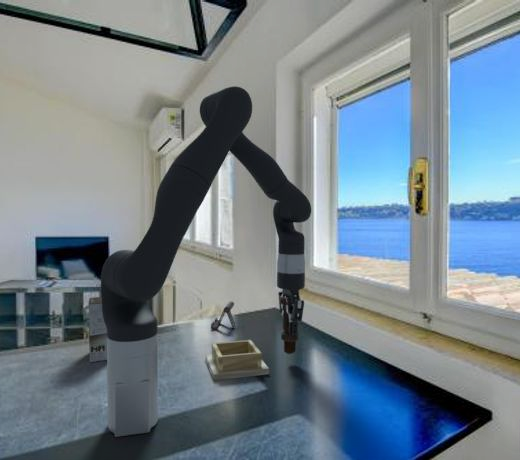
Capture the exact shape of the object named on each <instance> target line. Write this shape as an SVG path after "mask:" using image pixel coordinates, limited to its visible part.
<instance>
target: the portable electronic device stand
mask: <svg viewBox="0 0 520 460" xmlns="http://www.w3.org/2000/svg"><path fill="white" fill-rule="evenodd" d="M234 307H235V302H234V301H229V302H228V303H227V304H226V306H225V307H224V308H223V311H222V313H221V315H220V317H219V318H218V317H215V319H214V321H213V322H211V325H210V329H211V330H212V331H216V330H217V329H218V327H219V326H220V324H221V323H222V321H223V318H224V317H225V314H226V315H227V317H228V320H229V322H230V324H231V327H232V329H233V328H234V327H235V324H236V325H237V323H236V321H235V319H234V316H233V314H232V312H231V310H232V309H233V308H234Z"/></svg>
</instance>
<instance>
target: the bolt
mask: <svg viewBox="0 0 520 460" xmlns="http://www.w3.org/2000/svg"><path fill="white" fill-rule="evenodd" d="M300 300H301V297H300ZM287 302H288V305H290V299H288V300H287ZM287 302H286V299H285V297H281V302H280V304H284V309H285V313H284V315H285V318H284V321H285V323H284V327H285V328H284V330H283V331H282V332H281V334H280V335H281V337H280V339H281V340H282V341H283V351H284V353H285V354H287V355H291V354H294V353H295V352H296V350H297V349H296V347H297V346H296V345H297V344H296V343H297V341H298V340H299V332H298V335H297V336H290V335H289V314H288V313H287V310H286V305H287ZM290 310H293V309H290ZM295 317H296V315H295Z"/></svg>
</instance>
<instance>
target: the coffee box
mask: <svg viewBox="0 0 520 460" xmlns="http://www.w3.org/2000/svg"><path fill="white" fill-rule="evenodd" d="M88 344H89V345H88V347H89V348H88V350H89V363H95V362H100V361H107V328H106V325H105V323H104V320H103V314H102V297H101V296H97V297H96V296H95V297H89V300H88Z"/></svg>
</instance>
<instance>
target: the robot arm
mask: <svg viewBox="0 0 520 460" xmlns="http://www.w3.org/2000/svg"><path fill="white" fill-rule="evenodd" d="M252 114H253V102H252V98H251V95H250V93H249V92H248V91H247V90H246V89H245V88H242V87H241V86H237V85H234V86H233V85H232V86H227V87H223V88H222V89H219V90H217V91H215V92H213V93H209V94H208V95H206V96H205V97H204V98H203V99H202V100H201V102H200V105H199V115H200V118H201V121H202V122H203V124H204V126H205V127H204V129H203V130H202V131H201V132H200V134H198V136H197V137H195V139H193V140H192V141H191V143H189V144H188V145H187V146H186V147H185V148H184V149H183V150H182V151H181V153H179V154H178V156H177V157H176V158H175V159H174V160H173V162H172V163H171V164H170V166H169V168H168V170H167V171H166V173H165V174H164V176H163V178H162V179H161V181H160V183H159V185H158V189H157V192H156V196H155V203H154V213H153V218H152V220H151V223H150V226H149V228H148V230H147V231H146V233H145V235H144V236H143V237H142V239H141V241H140V243H139V244H138V246H137V247H136V248H135V250H132V249H122V250H121V249H120V250H116V251H115V252H113V253H111V255H110V256H108V257H107V258H106V260H105V262H104V263H103V265H102V269H101V273H100V292H101V293H100V294H101V296H100V297H102V314H103V320H104V323H105V325H106V328H107V360H106V365H107V366H106V367H107V368H106V372H107V373H106V374H107V376H106V377H107V379H106V380H107V381H106V383H107V428H108V431H109V432H111V433H113V434H114V438H118V437H124V436H131V435H138V434H146V433H150V432H151V429H152V428H153V427H154V426H156V424H157V423H158V422H159V376H158V375H159V373H158V371H159V367H158V366H159V365H158V364H159V363H158V362H159V361H158V360H159V359H158V357H159V354H158V353H159V351H158V347H159V345H158V344H159V340H158V335H159V333H158V332H159V331H158V328H159V326H158V320H157V317H156V316H155V314H154V313H153V312H152V310H151V309H150V306H149V304H148V302H149V301H150V300H151V299H153V298H154V297H155V296H156V295H158V293H159V292H160V291H161V289H162V287H163V286H164V284H165V282H166V279H167V277H168V275H169V272H170V271H171V268H172V265H173V264H174V260H175V258H176V254H178V253H177V252H178V250H179V248H180V246H181V243H182V241H183V240H184V237H185V235H186V233H187V231H188V230H189V228H190V226H191V224H192V222H193V220H194V218H195V216H196V214H197V212H198V210H199V208H200V207H201V205H202V204H203V202H204V200H205V198H206V196H207V194H208V192H209V190H210V189H211V187H212V184H213V182H214V180H215V178H216V177H217V174H218V173H219V171H220V170H221V167H222V165H223V164H224V162H225V160H226V158H227V156H228V154H229V152H230V153H231V154H232V155H233V156H234V157H235V158H236V159H237V160H238V161H239V162H240V164H242V166H243V167H244V168H245V169H246V170H247V172H248V173H249V174H250V175H251V177H252V178H253V180H255V182H256V183H257V185H258V186H259V187H260V189H261V190H262V192H263V193H264V194H265V197H267V198H268V199H270V200H273V201H275V202H274V205H273V211H272V216H273V222H274V225H275V230H276V233H277V239H278V246H277V247H278V249H277V250H278V251H277V253H278V254H277V263H276V287H277V288H278V289H281V291H279V292H278V304H279V305H278V306H279V314H281V317H282V330H283V331H284V328H285V327H284V323H285V321H284V318H285V315H284V313H285V309H284V304H280V302H281V297H285V299H286V302H287V300H288V299H290V305H288V302H287V305H286V310H287V313H288V314H289V335H290V336H297V335H298V333H299V332H298V331H299V322H302V320H303V315H304V314H303V313H304V308H305V306H304V305H305V301H304V300H303V299H302V300H300V298H301V297H300V290H303V289H304V288H305V287H306V286H305V285H306V258H305V235H304V233H302V232H301V231H298V230H296V227H295V225H294V223H304V222H306V221H308V220H309V218H310V217H311V215H312V204H311V203H310V200H309V199H308V197H307V195H306V194H304V192H302V191H301V190H300V189H299V188H298V187H297V186H296V185H295V184H294V183H292V182H291V180H289V179H288V177H287V175H286V174H285V173H284V171H283V170H282V168H281V166H280V165H279V164H278V163H277V161H276V160H275V159H274V158H273V157H272V156H271V155H270V154H269V153H268V152H266V151H264V149H262V148H260V147H259V146H258V145H256V144H255V143H254V142H253V141H252V140H250V139H249V138H248V137H247V136H246V135H245V134H244V130H245V129H246V127H247V125H248V124H249V122H250V120H251V118H252ZM290 309H293V310H290ZM295 315H296V317H295ZM298 336H299V335H298Z"/></svg>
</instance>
